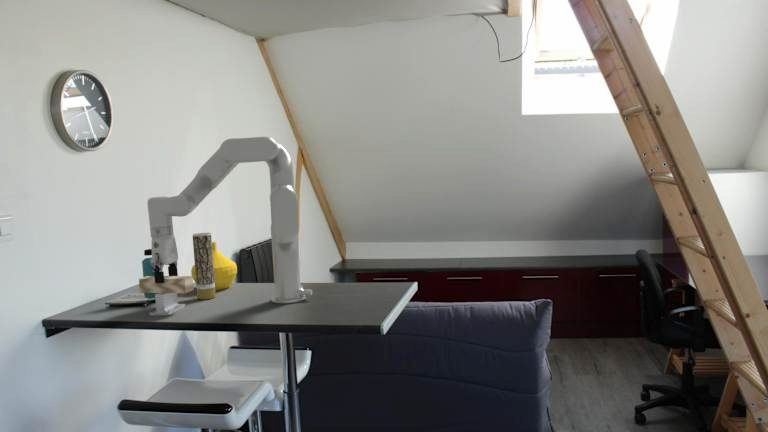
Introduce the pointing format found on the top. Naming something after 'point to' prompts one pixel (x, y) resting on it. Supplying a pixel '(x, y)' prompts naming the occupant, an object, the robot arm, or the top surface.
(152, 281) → the beam
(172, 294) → the fulcrum
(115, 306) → the top surface
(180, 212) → the robot arm
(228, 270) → the vase
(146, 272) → the beverage bottle
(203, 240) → the brown bark cylinder
